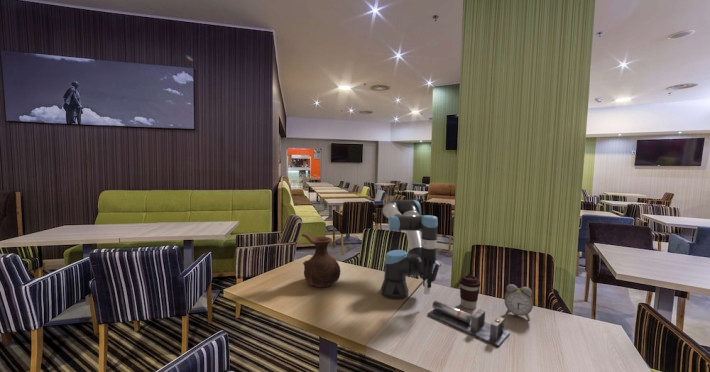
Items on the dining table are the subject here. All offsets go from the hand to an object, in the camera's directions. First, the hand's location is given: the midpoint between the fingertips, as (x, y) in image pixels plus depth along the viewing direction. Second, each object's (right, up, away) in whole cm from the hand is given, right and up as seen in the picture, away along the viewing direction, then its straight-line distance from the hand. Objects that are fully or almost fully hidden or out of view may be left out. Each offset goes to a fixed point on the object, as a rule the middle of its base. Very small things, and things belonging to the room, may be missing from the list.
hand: (426, 293), depth 145 cm
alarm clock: (+42, -9, -5) cm, 43 cm away
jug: (-55, -4, +27) cm, 62 cm away
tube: (+9, -7, -9) cm, 15 cm away
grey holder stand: (+14, -9, -14) cm, 22 cm away
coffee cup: (+22, -8, +3) cm, 23 cm away
